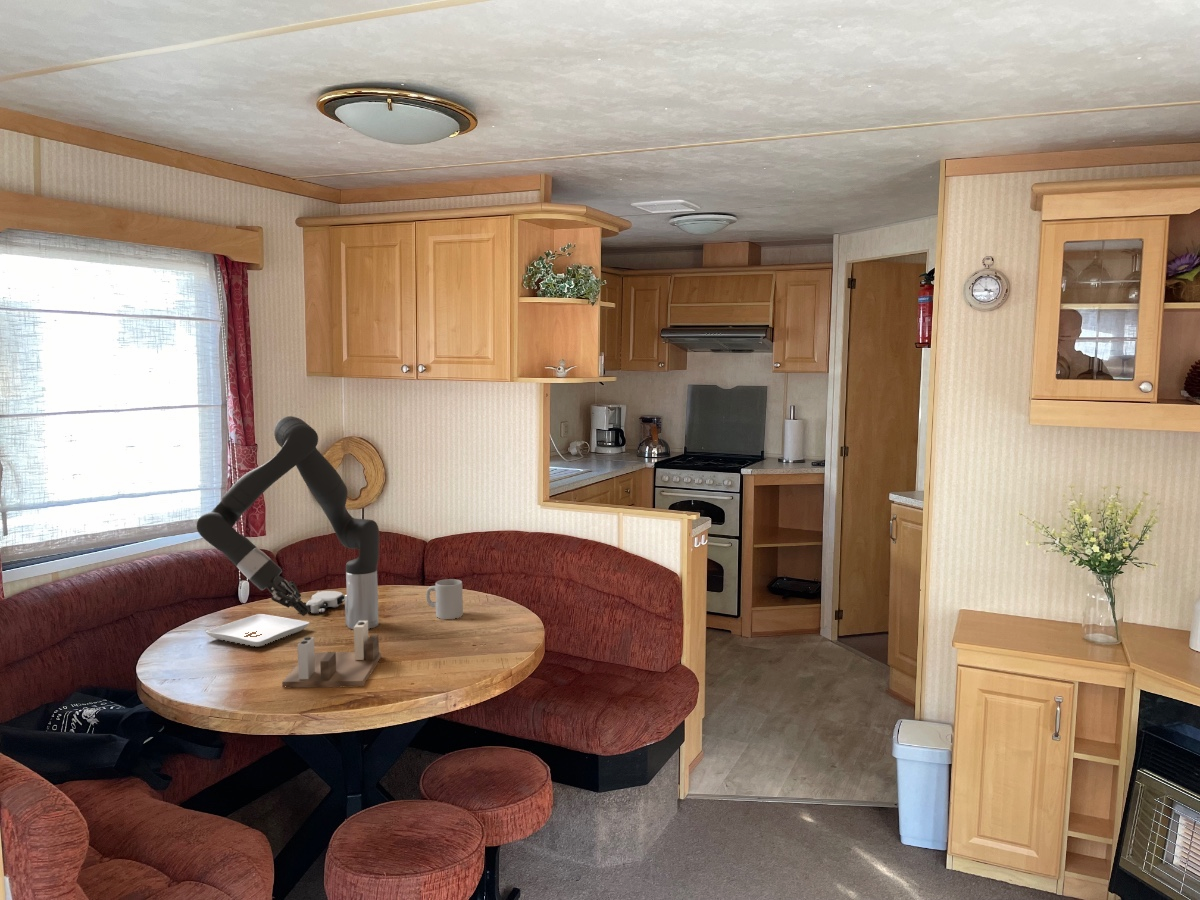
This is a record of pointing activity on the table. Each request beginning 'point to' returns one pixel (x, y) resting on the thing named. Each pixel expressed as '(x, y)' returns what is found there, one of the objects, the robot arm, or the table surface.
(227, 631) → the salad plate
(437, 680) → the table surface
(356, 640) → the tile one
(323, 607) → the robot toy
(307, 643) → the tile two
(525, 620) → the table surface
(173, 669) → the table surface
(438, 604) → the mug
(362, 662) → the brown piece
